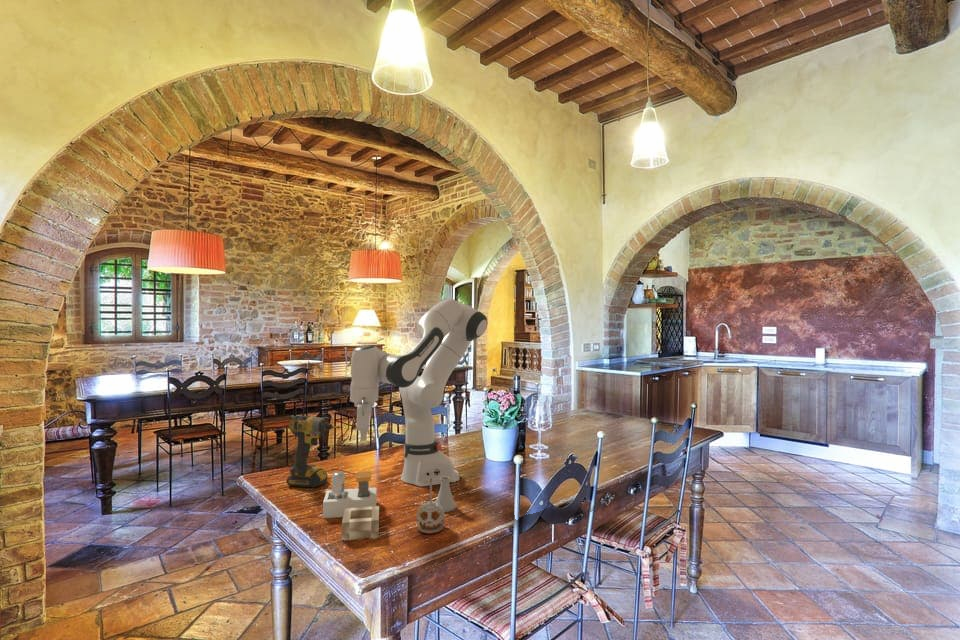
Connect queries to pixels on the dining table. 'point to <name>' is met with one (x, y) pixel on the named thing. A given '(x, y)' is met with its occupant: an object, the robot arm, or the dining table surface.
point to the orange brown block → (363, 483)
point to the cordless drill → (307, 450)
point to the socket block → (347, 502)
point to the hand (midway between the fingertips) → (364, 437)
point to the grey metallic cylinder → (338, 485)
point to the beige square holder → (360, 523)
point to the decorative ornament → (430, 515)
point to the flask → (445, 496)
